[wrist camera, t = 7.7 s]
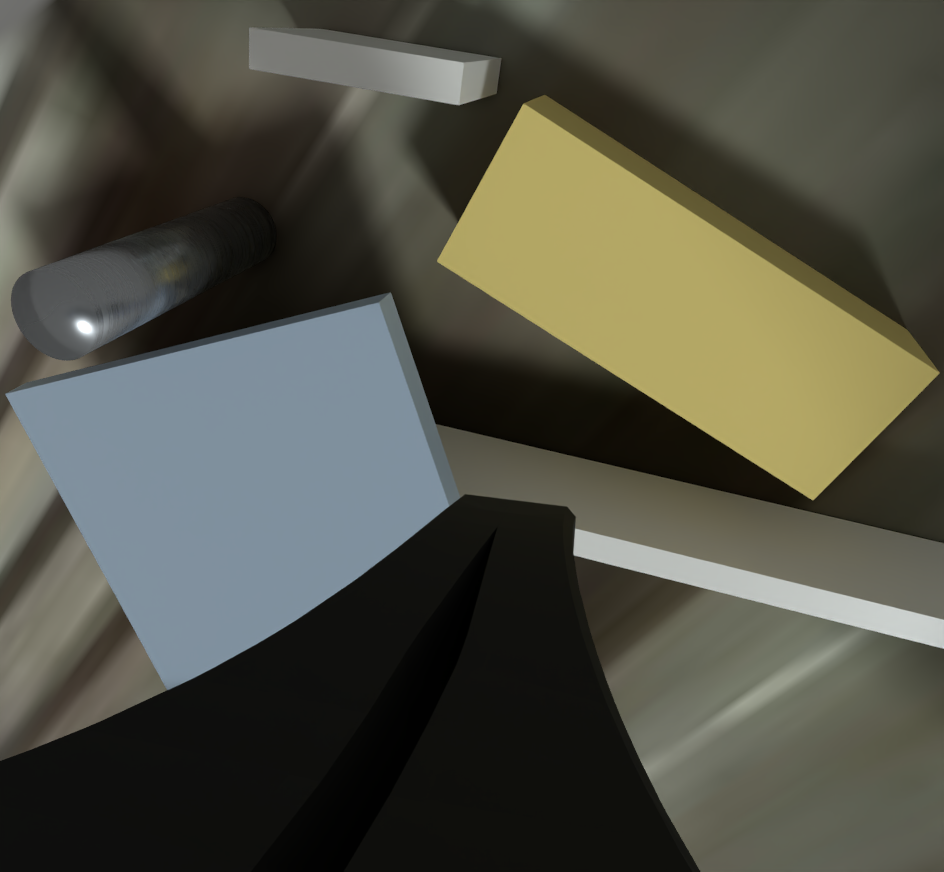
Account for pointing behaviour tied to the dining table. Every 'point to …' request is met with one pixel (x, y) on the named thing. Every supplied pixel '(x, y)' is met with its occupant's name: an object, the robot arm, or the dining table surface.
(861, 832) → the dining table surface
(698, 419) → the khaki rectangular brick
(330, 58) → the grey flat pieces
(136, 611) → the duct cover
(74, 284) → the pin
